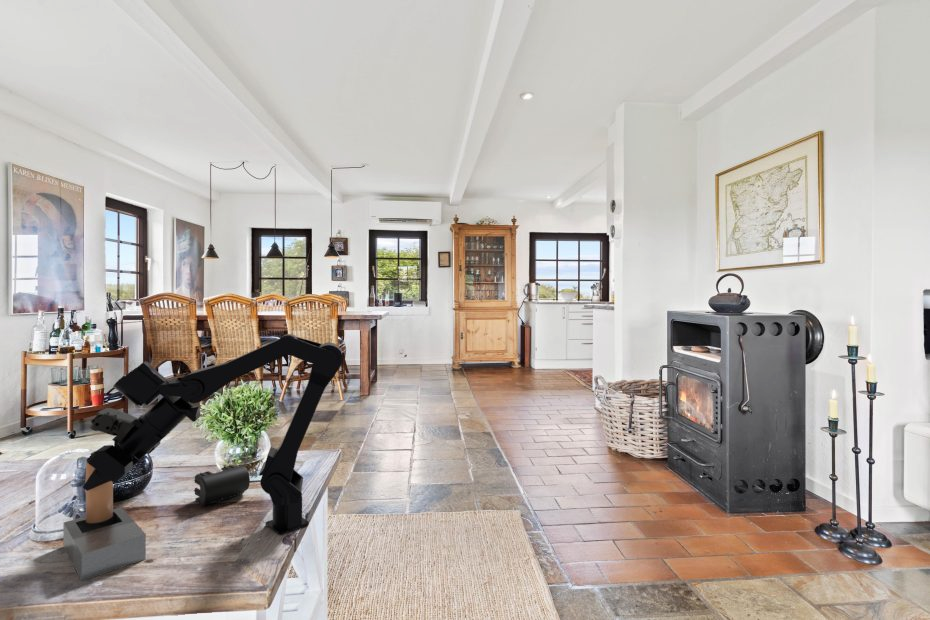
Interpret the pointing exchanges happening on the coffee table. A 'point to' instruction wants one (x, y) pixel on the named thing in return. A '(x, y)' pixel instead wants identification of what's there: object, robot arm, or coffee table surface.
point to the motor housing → (103, 544)
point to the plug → (98, 500)
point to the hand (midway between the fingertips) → (91, 484)
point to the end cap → (221, 484)
